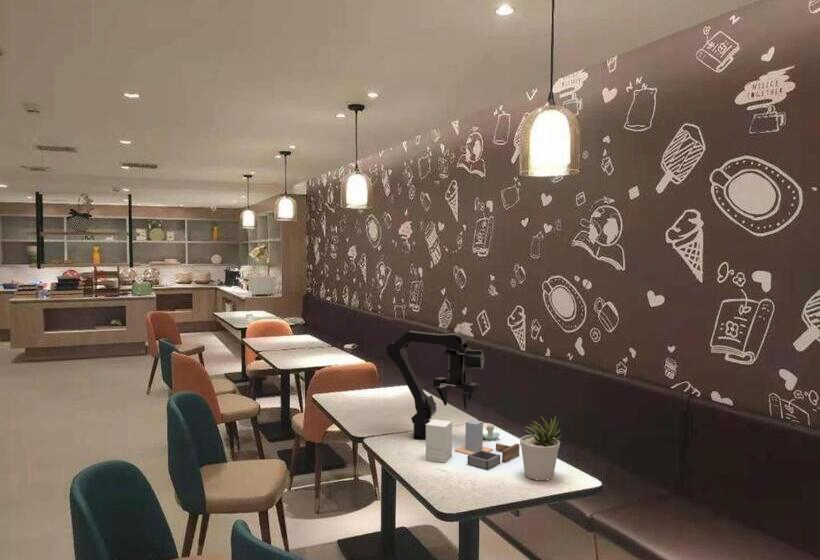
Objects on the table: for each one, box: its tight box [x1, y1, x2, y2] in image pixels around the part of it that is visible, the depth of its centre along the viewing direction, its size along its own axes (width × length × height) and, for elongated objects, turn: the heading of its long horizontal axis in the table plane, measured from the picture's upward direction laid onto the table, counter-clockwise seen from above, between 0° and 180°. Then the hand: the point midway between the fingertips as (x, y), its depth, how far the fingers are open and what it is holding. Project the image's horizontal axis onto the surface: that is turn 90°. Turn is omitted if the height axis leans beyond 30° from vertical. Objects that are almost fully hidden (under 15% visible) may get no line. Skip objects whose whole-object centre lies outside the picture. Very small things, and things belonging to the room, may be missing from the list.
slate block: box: [464, 419, 484, 452], centre depth 213 cm, size 4×4×10 cm
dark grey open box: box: [467, 450, 501, 471], centre depth 200 cm, size 8×8×3 cm
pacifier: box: [483, 423, 500, 441], centre depth 227 cm, size 7×6×6 cm
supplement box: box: [425, 419, 453, 464], centre depth 204 cm, size 7×7×13 cm
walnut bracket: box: [495, 442, 521, 464], centre depth 208 cm, size 9×10×4 cm
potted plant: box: [519, 415, 563, 481], centre depth 189 cm, size 13×14×20 cm
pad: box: [454, 444, 494, 456], centre depth 213 cm, size 10×10×1 cm
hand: (455, 407), depth 223 cm, fingers open, 9 cm apart
